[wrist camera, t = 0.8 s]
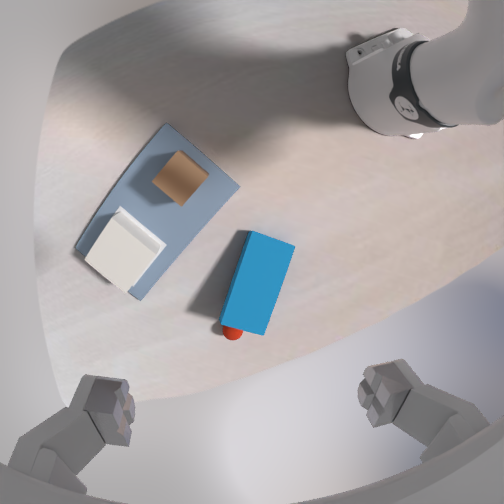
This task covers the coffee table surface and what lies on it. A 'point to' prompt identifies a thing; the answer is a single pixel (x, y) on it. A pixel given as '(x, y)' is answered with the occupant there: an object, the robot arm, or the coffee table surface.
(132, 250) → the base block
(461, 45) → the robot arm
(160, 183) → the walnut cube
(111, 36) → the coffee table surface
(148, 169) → the board
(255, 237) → the lever
